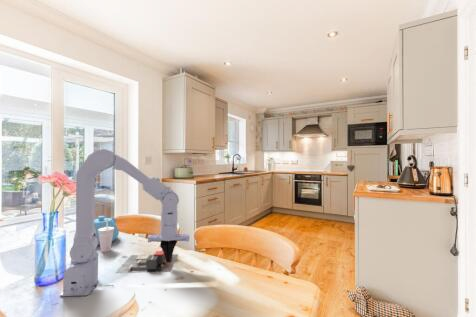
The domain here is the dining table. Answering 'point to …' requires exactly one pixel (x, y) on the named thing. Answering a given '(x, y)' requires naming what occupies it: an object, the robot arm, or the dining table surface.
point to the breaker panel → (144, 264)
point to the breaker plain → (152, 262)
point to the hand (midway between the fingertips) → (168, 261)
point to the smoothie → (105, 237)
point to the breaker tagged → (160, 256)
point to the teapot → (102, 223)
